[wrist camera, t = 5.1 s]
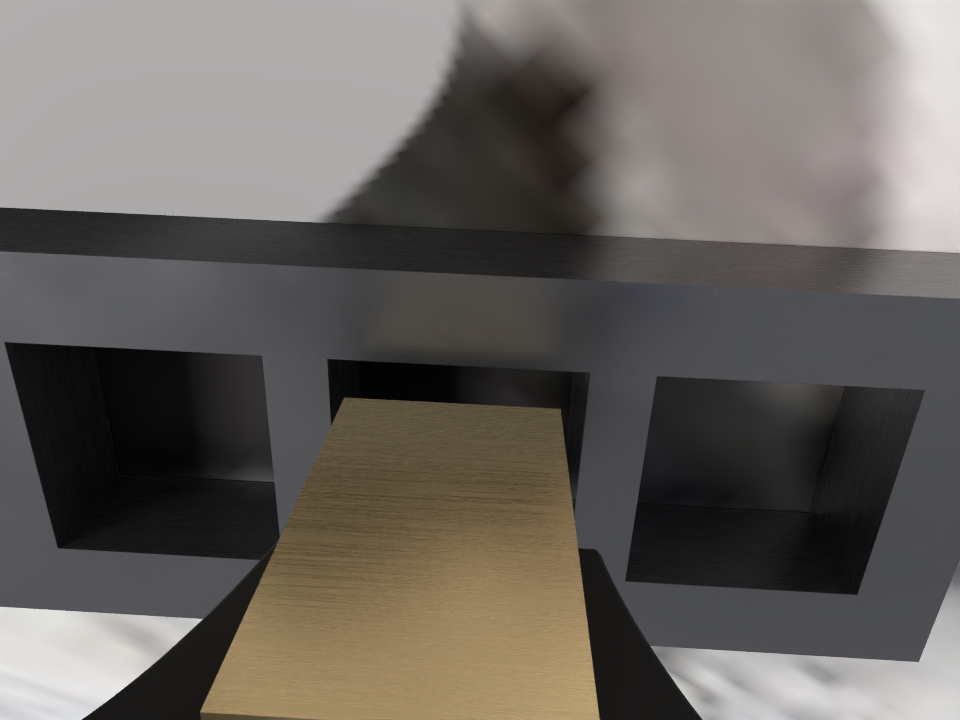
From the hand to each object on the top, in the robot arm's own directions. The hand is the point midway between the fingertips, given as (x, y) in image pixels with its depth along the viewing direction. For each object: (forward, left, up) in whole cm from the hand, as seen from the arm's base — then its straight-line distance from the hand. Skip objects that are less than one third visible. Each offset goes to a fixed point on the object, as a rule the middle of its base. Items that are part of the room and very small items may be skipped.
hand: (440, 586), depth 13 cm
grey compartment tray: (0, 0, -6) cm, 6 cm away
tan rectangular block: (0, 0, -2) cm, 2 cm away
